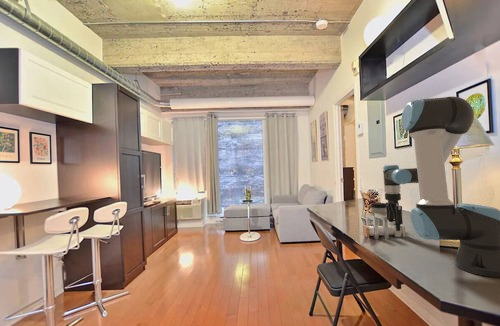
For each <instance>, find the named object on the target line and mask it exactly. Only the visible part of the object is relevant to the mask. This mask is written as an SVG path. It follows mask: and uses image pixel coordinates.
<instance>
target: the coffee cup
mask: <svg viewBox="0 0 500 326" xmlns="http://www.w3.org/2000/svg"><path fill="white" fill-rule="evenodd" d="M385 203H386V202H371V203H370V205H369V207H370V209H371V214H372V215H374V216H375V213H379V214H382V215H384V216H386V217H387V215H386V204H385ZM379 223H380V226H383V220H382V219H380V218H379Z"/></svg>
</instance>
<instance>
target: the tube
mask: <svg viewBox="0 0 500 326" xmlns="http://www.w3.org/2000/svg"><path fill="white" fill-rule="evenodd" d="M400 230H401V237H403V238H404V237H406V226H405V225H403V224H401V225H400ZM362 234H363V236H364V237H366V238H370V236H373V237H374V227H373V225H372V226H366V224H363V225H362ZM378 236H384V232H383V226H378ZM388 236H395V230H394V226H389V225H388Z"/></svg>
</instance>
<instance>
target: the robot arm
mask: <svg viewBox="0 0 500 326" xmlns="http://www.w3.org/2000/svg"><path fill="white" fill-rule="evenodd" d="M474 120H475V112H474V109H473V107H472V104H471V103H470V102H468V100H466V99H465V98H462V97H459V96H444V97H435V98H434V97H433V98H420V99H415V100H411V101H409V102H407V104H406V105H405V106H404V109H403V111H402V113H401V121H400V123H401V124H400V125H401V127H402V130H404V131H406V132H408V136H409V137H411V138H412V139H413V142H414V152H415V161H416V162H415V163H416V168H415V167H414V168H399V165H397V164H390V165H388V164H387V165H384V166H383V169H382V173H383V186H384V187H383V188H384V192H385V193H384V199H385V200H386V201H387V202H384V203H385V204H386V217H387V222H388V226H394V230H395V235H394V237H396V238H397V237H398V238H400V237H402V236H401V230H400V225H403V223H404V221H403V206H402V205H400V204H399V201H401V197H402V195H401V185H407V184H418V190H419V191H418V192H419V199H418V201H417V202H415V205H416V207H414V208H412V209H411V211H410V221H411V224H412V226H413V229H414V230H415V232H416V233H417V235H418V236H420V238H423V239H424V240H433V241H459V246H458V248H457V252H456V255H455V257H454V264H455V266H456V267H457V268H459V269H461V270H463V271H466V272H468V273H470V274H474V275H478V274H479V276H482V275H484V276H483V277H488V276H490V277H489V278H496V277H500V210H499V209H498V208H496V207H492V206H487V205H481V204H474V203H473V204H472V203H465V202H464V203H463V202H462V203H461V202H460V203H457V204H456V205H455V203H454V202H453V201H451V200H450V199H449V191H448V185H447V184H448V183H447V175H446V167H445V166H446V165H445V163H446V162H447V160H448V158H449V156H450V155H451V153H452V152H453V151H454V149H455V147H456V145H457V144H458V142H459V140H460V139H461V138H462V136H463V135H465V134H467V133H468V132H469V130H470V128H471V127H472V125H473V123H474Z"/></svg>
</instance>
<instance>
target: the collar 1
mask: <svg viewBox="0 0 500 326" xmlns="http://www.w3.org/2000/svg"><path fill="white" fill-rule="evenodd" d="M371 220H372V226H373V227H374V236H373V238H374V239H375V240H378V239H379V236H380V235H378V220H377V217H376V216H374V215H372V213H370V212H366V213H365V225H366V226H371Z"/></svg>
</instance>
